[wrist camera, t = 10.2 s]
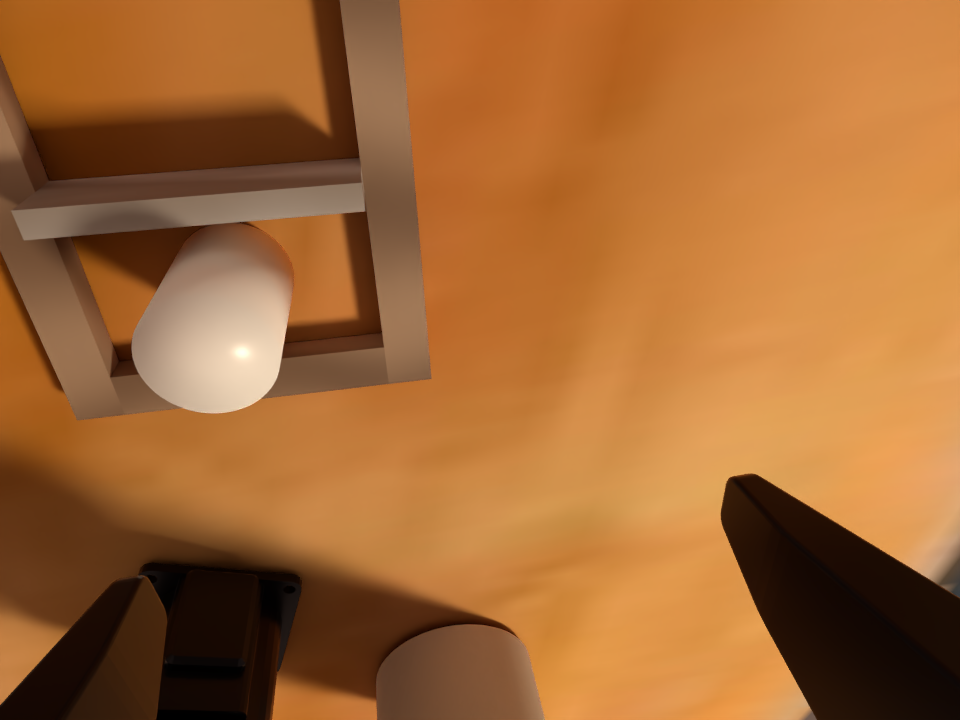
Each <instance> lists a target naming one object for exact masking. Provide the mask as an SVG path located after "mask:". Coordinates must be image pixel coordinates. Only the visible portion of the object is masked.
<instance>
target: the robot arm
mask: <svg viewBox="0 0 960 720" xmlns="http://www.w3.org/2000/svg"><path fill="white" fill-rule="evenodd" d="M721 522H722V526H723V528H724V531H725V533H726V536H727V538H728V541H729V543H730V545H731V548H732V550H733V553H734V555H735V557H736V560H737V562H738V565H739V567H740V569H741V572H742V574H743V577H744V579H745V581H746V584H747V586H748V589H749V591H750V593H751V596H752V598H753V601H754V603H755V605H756V607H757V610H758V612H759V614H760V616H761V618H762V620H763V622H764V624H765V626H766V628H767V629H768V631H769V633H770V635H771V637H772V639H773V640H774V642H775V644H776V646H777V648H778V649H779V651H780V653H781V655H782V657H783V659H784V660H785V662H786V664H787V666H788V668H789V670H790V671H791V673H792V675H793V677H794V679H795V681H796V682H797V684H798V686H799V688H800V690H801V691H802V693H803V695H804V697H805V699H806V701H807V702H808V704H809V706H810V708H811V710H812V712H813V713H814V715H815V717H816V719H817V720H960V598H959V597H958V596H956V595H954V594H953V593H951V592H949V591H948V590H946V589H945V588H943V587H941V586H940V585H938V584H936V583H935V582H933V581H931V580H930V579H928V578H926V577H925V576H923V575H921V574H920V573H918V572H917V571H915V570H913V569H912V568H910V567H908V566H907V565H905V564H903V563H902V562H900V561H898V560H897V559H895V558H893V557H892V556H890V555H889V554H887V553H885V552H884V551H882V550H880V549H879V548H877V547H875V546H874V545H872V544H870V543H869V542H867V541H866V540H864V539H862V538H861V537H859V536H857V535H856V534H854V533H852V532H851V531H849V530H847V529H846V528H844V527H842V526H841V525H839V524H838V523H836V522H834V521H833V520H831V519H829V518H828V517H826V516H824V515H823V514H821V513H819V512H818V511H816V510H814V509H813V508H811V507H810V506H808V505H806V504H805V503H803V502H801V501H800V500H798V499H796V498H795V497H793V496H791V495H790V494H788V493H786V492H785V491H783V490H782V489H780V488H778V487H777V486H775V485H773V484H772V483H770V482H768V481H767V480H765V479H763V478H762V477H760V476H758V475H756V474H744V475H738V476H732V477H730V478H729V479H728V481H727V483H726V487H725V493H724V498H723V503H722V508H721ZM152 575H154V576H152ZM301 588H302V580H301V578H300V577H298V576H297V575H293V574H281V573H269V572H257V571H245V570H233V569H221V568H209V567H197V566H185V565H173V564H161V563H148V564H145V565H143V566H142V567H141V569H140V571H139V574H138V576H134V577H128V578H122V579H118V580H116V581H114V582H113V583H112V584H111V585H110V586H109V587H108V588H107V589H106V590H105V591H104V592H103V593H102V594H101V596H100V597H99V598H98V599H97V600H96V601H95V602H94V603H93V604H92V605H91V606H90V608H89V609H88V610H87V611H86V612H85V613H84V614H83V615H82V616H81V617H80V619H79V620H78V621H77V622H76V623H75V624H74V625H73V626H72V627H71V628H70V629H69V631H68V632H67V633H66V634H65V635H64V636H63V637H62V638H61V639H60V640H59V641H58V643H57V644H56V645H55V646H54V647H53V648H52V649H51V650H50V651H49V652H48V654H47V655H46V656H45V657H44V658H43V659H42V660H41V661H40V662H39V663H38V664H37V666H36V667H35V668H34V669H33V670H32V671H31V672H30V673H29V674H28V675H27V676H26V678H25V679H24V680H23V681H22V682H21V683H20V684H19V685H18V686H17V687H16V688H15V690H14V691H13V692H12V693H11V694H10V695H9V696H8V697H7V698H6V699H5V701H4V702H3V703H2V704H1V705H0V720H272V715H273V705H274V696H275V686H276V676H277V672H278V671H279V669H280V667H281V663H282V660H283V656H284V652H285V649H286V645H287V641H288V638H289V634H290V630H291V627H292V623H293V619H294V616H295V612H296V608H297V605H298V601H299V597H300V594H301Z"/></svg>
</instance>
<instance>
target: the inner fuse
mask: <svg viewBox="0 0 960 720" xmlns="http://www.w3.org/2000/svg"><path fill="white" fill-rule="evenodd" d="M293 287H294V271H293V267H292V263H291V261H290V259H289V257H288V255H287V253H286V252H285V250H284V249H283V248H282V246H281V245H280V244H279V243H278V242H277V241H276V240H275V239H274V238H272V237H271V236H270V235H268V234H267V233H265V232H263V231H262V230H260V229H257V228H255V227H253V226H250V225H246V224H242V223H235V222H234V223H223V224H212V225H208V226H206V227H203V228H201V229H199V230H198V231H196V232H194V233H193V234H192V235H191V236H190V237H189V238H188V239H187V240H186V241H185V242H184V244H183V245H182V247H181V249H180V250H179V252H178V254H177V256H176V257H175V259H174V261H173V263H172V264H171V266H170V268H169V270H168V271H167V273H166V275H165V277H164V279H163V280H162V282H161V284H160V286H159V287H158V289H157V291H156V293H155V294H154V296H153V298H152V300H151V301H150V303H149V305H148V307H147V309H146V310H145V312H144V314H143V316H142V317H141V319H140V321H139V323H138V324H137V326H136V329H135V331H134V334H133V338H132V357H133V361H134V364H135V367H136V369H137V371H138V373H139V375H140V376H141V378H142V379H143V381H144V382H145V383H146V384H147V385H148V386H149V387H150V388H151V389H152V390H153V391H154V392H155V393H156V394H158V395H159V396H160V397H162V398H163V399H165V400H167V401H168V402H170V403H172V404H174V405H176V406H179V407H182V408H184V409H187V410H191V411H196V412H202V413H226V412H232V411H236V410H239V409H243V408H245V407H247V406H250V405H251V404H253V403H255V402H257V401H258V400H259V399H261V398H262V397H263V396H264V395H265V394H266V393H267V392H268V391H269V390H270V389H271V387H272V386H273V385H274V383H275V381H276V379H277V376H278V373H279V369H280V363H281V357H282V352H283V346H284V340H285V334H286V328H287V322H288V317H289V311H290V305H291V299H292V293H293Z"/></svg>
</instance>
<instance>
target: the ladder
mask: <svg viewBox="0 0 960 720" xmlns="http://www.w3.org/2000/svg"><path fill="white" fill-rule="evenodd" d="M340 8H341V15H342V23H343V31H344V39H345V47H346V54H347V62H348V70H349V78H350V85H351V93H352V101H353V109H354V117H355V124H356V132H357V140H358V148H359V156H360V158H349V159H336V160H322V161H309V162H296V163H283V164H269V165H256V166H243V167H229V168H216V169H203V170H190V171H176V172H163V173H150V174H136V175H123V176H110V177H97V178H83V179H70V180H57V181H49V179H48V177H47V174H46V172H45V169H44V166H43V164H42V161H41V159H40V156H39V154H38V151H37V148H36V146H35V143H34V141H33V138H32V136H31V133H30V130H29V128H28V125H27V123H26V120H25V118H24V115H23V112H22V110H21V107H20V105H19V102H18V100H17V97H16V94H15V92H14V89H13V87H12V84H11V82H10V79H9V76H8V74H7V71H6V69H5V66H4V64H3V61H2V58H1V56H0V251H1V254H2V256H3V258H4V260H5V262H6V265H7V267H8V269H9V271H10V273H11V276H12V278H13V280H14V282H15V284H16V287H17V289H18V291H19V293H20V295H21V298H22V300H23V302H24V304H25V306H26V309H27V311H28V313H29V315H30V317H31V320H32V322H33V324H34V326H35V328H36V331H37V333H38V335H39V337H40V339H41V342H42V344H43V346H44V348H45V350H46V352H47V355H48V357H49V359H50V361H51V363H52V366H53V368H54V370H55V372H56V374H57V377H58V379H59V381H60V383H61V385H62V388H63V390H64V392H65V394H66V396H67V399H68V401H69V403H70V405H71V407H72V410H73V412H74V414H75V416H76V418H77V420H84V419H93V418H101V417H110V416H118V415H127V414H136V413H144V412H153V411H161V410H170V409H178V408H182V407H179V406H176V405H174V404H172V403H170V402H168V401H167V400H165V399H163V398H162V397H160V396H159V395H158V394H156V393H155V392H154V391H153V390H152V389H151V388H150V387H149V386H148V385H147V384H146V383H145V382H144V381H143V379H142V378H141V376H140V375H139V373H138V371H137V369H136V367H135V364H134V361H133V360H126V361H119V360H118V357H117V354H116V352H115V349H114V347H113V344H112V342H111V339H110V336H109V334H108V331H107V329H106V326H105V324H104V321H103V318H102V316H101V313H100V311H99V308H98V306H97V303H96V300H95V298H94V295H93V293H92V290H91V288H90V285H89V282H88V280H87V277H86V275H85V272H84V269H83V267H82V264H81V262H80V259H79V257H78V254H77V251H76V249H75V246H74V244H73V241H72V239H71V236H82V235H93V234H105V233H117V232H129V231H140V230H152V229H164V228H176V227H187V226H199V225H211V224H223V223H234V222H246V221H258V220H270V219H281V218H293V217H305V216H317V215H328V214H340V213H352V212H364V211H365V202H366V210H367V218H368V226H369V233H370V241H371V249H372V257H373V265H374V272H375V280H376V288H377V296H378V304H379V311H380V319H381V327H382V333H377V334H367V335H358V336H349V337H340V338H330V339H321V340H312V341H302V342H293V343H284V346H283V352H282V357H281V363H280V369H279V373H278V376H277V379H276V381H275V383H274V385H273V386H272V387H271V389H270V390H269V391H268V392H267V393H266V394H265V395H264V396H263V397H262V398H261V399H264V398H272V397H281V396H289V395H298V394H306V393H315V392H324V391H332V390H341V389H349V388H358V387H366V386H375V385H383V384H392V383H400V382H409V381H418V380H426V379H431V369H430V357H429V345H428V333H427V322H426V310H425V298H424V287H423V275H422V263H421V252H420V240H419V228H418V217H417V205H416V193H415V181H414V170H413V158H412V146H411V135H410V123H409V111H408V100H407V88H406V76H405V64H404V53H403V41H402V29H401V18H400V6H399V0H340Z"/></svg>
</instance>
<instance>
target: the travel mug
mask: <svg viewBox="0 0 960 720" xmlns="http://www.w3.org/2000/svg"><path fill="white" fill-rule="evenodd" d="M376 698H377V720H545V718H544V714H543V710H542V706H541V702H540V698H539V694H538V690H537V686H536V682H535V678H534V674H533V670H532V666H531V662H530V657H529V653H528V651H527V649H526V647H525V645H524V644H523V643H522V641H520V640H519V639H518V638H517V637H516V636H514V635H513V634H511V633H509V632H507V631H505V630H502V629H499V628H496V627H492V626H486V625H476V624H465V625H454V626H447V627H442V628H438V629H434V630H431V631H428V632H425V633H423V634H420V635H418V636H416V637H414V638H412V639H410V640H408V641H406V642H405V643H403V644H402V645H400V646H399V647H397V648H396V649H395V650H394V651H393V652H391V653H390V654H389V655H388V657H387V658H386V659H385V660H384V662H383V663H382V665H381V666H380V668H379V671H378V673H377V677H376Z"/></svg>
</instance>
